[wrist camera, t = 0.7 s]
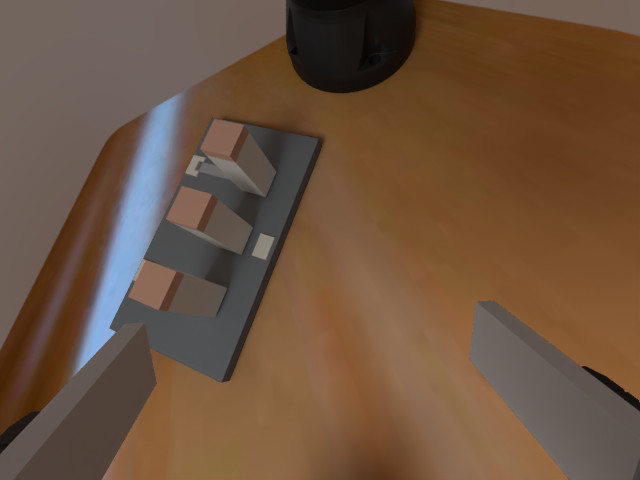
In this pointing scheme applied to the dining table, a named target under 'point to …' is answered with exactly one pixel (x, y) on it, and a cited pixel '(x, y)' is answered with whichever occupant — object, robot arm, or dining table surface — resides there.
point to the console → (225, 255)
